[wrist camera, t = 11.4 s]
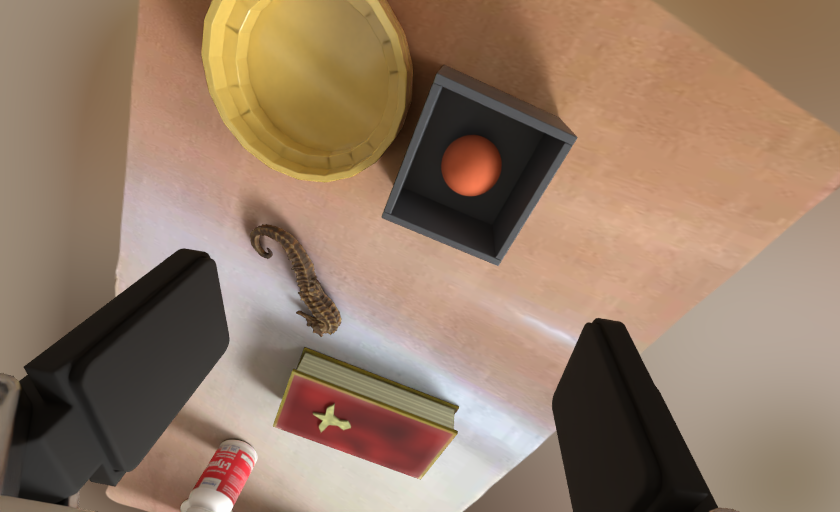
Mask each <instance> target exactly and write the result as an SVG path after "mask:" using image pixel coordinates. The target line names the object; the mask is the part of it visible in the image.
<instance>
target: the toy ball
mask: <svg viewBox="0 0 840 512" xmlns="http://www.w3.org/2000/svg"><path fill="white" fill-rule="evenodd" d="M501 167H502V162H501V156H500V154H499V151H498V149H497V148H496V146H495V145H494V144H493V143H492V142H491V141H489V140H488V139H486V138H485V137H482V136H478V135H466V136H463V137H460V138H458V139H456V140H455V141H453V142H452V143H451V144H450V145H449V146H448V148H447V149H446V151H445V153H444V155H443V158H442V163H441V171H442V175H443V178H444V180H445V182H446V184H447V185H448V186H449V187H450V188H451V189H452V190H453V191H455V192H456V193H458V194H460V195H464V196H477V195H481V194H483V193H485V192H487V191H488V190H490V189H491V188H492V187H493V186H494V185H495V183H496V182H497V180H498V178H499V176H500V173H501Z"/></svg>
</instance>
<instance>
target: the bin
mask: <svg viewBox="0 0 840 512" xmlns="http://www.w3.org/2000/svg"><path fill="white" fill-rule="evenodd" d="M466 135H478V136H482V137H485V138H486V139H488V140H489V141H491V142H492V143H493V144H494V145H495V146H496V148H497V149H498V151H499V154H500V156H501V162H502V167H501V173H500V176H499V178H498V180H497V182H496V183H495V185H494V186H493V187H492V188H491V189H490V190H488V191H487V192H485V193H483V194H481V195H477V196H464V195H460V194H458V193H456V192H455V191H453V190H452V189H451V188H450V187H449V186H448V185H447V184H446V182H445V180H444V178H443V175H442V171H441V163H442V158H443V155H444V153H445V151H446V149H447V148H448V146H449V145H450V144H451V143H452V142H453V141H455V140H456V139H458V138H460V137H463V136H466ZM576 139H577V136H576V135H575V134H574V133H573V132H572V131H571V130H570V129H569V128H568V127H567V126H566V124H565V123H564V122H563V121H562V120H561V119H560V118H559V117H557V116H555V115H552V114H550V113H548V112H546V111H544V110H542V109H539V108H537V107H535V106H533V105H531V104H529V103H526V102H524V101H522V100H520V99H518V98H516V97H513V96H511V95H509V94H507V93H505V92H503V91H500V90H498V89H496V88H494V87H492V86H489V85H487V84H485V83H483V82H481V81H479V80H476V79H474V78H472V77H470V76H468V75H466V74H463V73H461V72H459V71H457V70H455V69H453V68H450V67H448V66H446V65H443V66H442V67H441V69H440V70H439V71H438V72H437V74H436V76H435V79H434V82H433V84H432V87H431V89H430V92H429V94H428V97H427V100H426V102H425V105H424V107H423V110H422V113H421V115H420V118H419V120H418V123H417V126H416V128H415V131H414V133H413V136H412V139H411V141H410V144H409V146H408V149H407V152H406V154H405V157H404V159H403V162H402V165H401V167H400V170H399V172H398V175H397V178H396V180H395V183H394V186H393V188H392V191H391V193H390V196H389V199H388V201H387V204H386V206H385V209H384V212H383V214H382V218H383V219H386V220H388V221H390V222H393V223H395V224H398V225H400V226H403V227H405V228H407V229H410V230H412V231H415V232H417V233H419V234H422V235H424V236H427V237H429V238H432V239H434V240H436V241H439V242H441V243H444V244H446V245H448V246H451V247H453V248H456V249H458V250H461V251H463V252H465V253H468V254H470V255H473V256H475V257H477V258H480V259H482V260H485V261H487V262H489V263H492V264H494V265H497V266H499V264H500V263H501V260H502V259H503V258H504V256H505V254H506V253H507V251H508V250H509V248H510V246H511V245H512V243H513V242H514V240H515V238H516V237H517V235H518V233H519V232H520V230H521V229H522V227H523V225H524V224H525V222H526V220H527V219H528V217H529V216H530V214H531V212H532V211H533V209H534V208H535V206H536V204H537V203H538V201H539V199H540V198H541V196H542V195H543V193H544V191H545V190H546V188H547V186H548V185H549V183H550V182H551V180H552V178H553V177H554V175H555V173H556V172H557V170H558V169H559V167H560V165H561V164H562V162H563V161H564V159H565V157H566V156H567V154H568V152H569V151H570V149H571V148H572V145H573V144H574V143H575V141H576Z"/></svg>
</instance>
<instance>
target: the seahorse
mask: <svg viewBox="0 0 840 512" xmlns="http://www.w3.org/2000/svg"><path fill="white" fill-rule="evenodd" d="M260 235H265V236H268V237H270V238H272V239H274V240H276V241H277V242H279V243H280V244H281V245H282V247H283V248H284V249H285V251H286V252H287V253H288V257H289V260H291V261H292V265H293V267H292V269H293V270H294V272H295V273H296V275H297V276H296V278H297V281H296V282H298V286H299V287H300V292H298V294H300V296H301V300H303V301H304V303H305V304H306V305H307V306H308V309H310V310H311V312H312V315H314V316H315V317H312V316H309V315H308V314H306V313H304V312H302V311H301V310H300V311H297V312H296V314H299V315H301V316H303V317H304V318H306V320H307V326H308V327H309V326H311V327H312V328H313V333H317V334H319V335H320V337H322V336H323V335H322V334H324V333H325V334H326V333H329V334H330V335H331V334H332V333H334V332H335V331H337V328H338V326H340V324H341V316H340V313H339V311H338V309H337V307H336V306H335V304H334V302H332V300H331V299H330V298H329V297H328V296H327V295H325V294H324V292H323V290H322V288H321V286H320V283H318V280H316V275H315V272H314V264H312V262H311V259H310V258H309V257H308V255H307V254H306V252H305V250H304V249H303V247H302V245H300V243H299V242H298V240H296V239H295V237H294V236H292V235H290V234H289V233H288V232H286V231H284V230H283V229H282V228H278V227H276V226H272V225H267V224H266V225H263V224H262V225H261V226H258V227H257V228H256V229H254V230H253V231H252V232H251V234H250V238H251V245H252V246H253V248H254V249H255V250H256V251H257V252H258V254H259V255H260V256H262V257H264V258H267V259H269V258H270V257H271V256H272V255H273V254H272V251H271V250H270V249H269V248H267V250H268V252H269V253H267V252H265V251H264V250H263V249H262V247H261V246H260V243H259V237H260Z"/></svg>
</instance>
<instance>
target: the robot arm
mask: <svg viewBox="0 0 840 512" xmlns="http://www.w3.org/2000/svg"><path fill="white" fill-rule="evenodd" d="M228 344H229V332H228V327H227V321H226V316H225V310H224V305H223V299H222V294H221V289H220V283H219V278H218V272H217V267H216V263H215V261H214V260H213V259H211V258H210V256H209V254H208V253H206V252H202V251H197V250H191V249H185V248H184V249H180V250H178V251H176V252H175V253H174V254H172V255H171V256H170V257H168V258H167V259H166V260H164V261H163V262H162V263H160V264H159V265H158V266H156V267H155V268H154V269H152V270H151V271H150V272H148V273H147V274H146V275H144V276H143V277H142V278H141V279H139V280H138V281H137V282H135V283H134V284H133V285H131V286H130V287H129V288H127V289H126V290H125V291H123V292H122V293H121V294H119V295H118V296H117V297H115V298H114V299H113V300H111V301H110V302H109V303H107V304H106V305H105V306H104V307H102V308H101V309H100V310H98V311H97V312H96V313H94V314H93V315H92V316H90V317H89V318H88V319H86V320H85V321H84V322H82V323H81V324H80V325H78V326H77V327H76V328H74V329H73V330H72V331H71V332H69V333H68V334H67V335H65V336H64V337H62V338H61V339H60V340H58V341H57V342H56V343H55V344H53V345H52V346H51V347H49V348H48V349H47V350H45V351H44V352H43V353H41V354H40V355H39V356H37V357H36V358H35V359H33V360H32V361H31V362H29V363H28V364H27V365H25V366H24V369H25V370H26V372H27V374H28V375H27V376H26V377H24V378H23V379H21V380H20V381H18V380H17V379H16V378H15V377H14V376H11V375H7V374H4V373H0V512H96V511H90V510H85V509H79V508H78V507H79V491H80V489H81V488H82V486H83V485H84V484H85V483H86V482H87V481H88V479H90V481H91V482H95V483H100V484H106V485H110V486H116V485H117V483H118V482H119V481H120V480H121V478H122V477H123V476H124V474H125V473H126V472H130V471H132V470H134V469H135V468H136V467H137V466H138V465H139V464H140V462H141V461H142V460H143V458H144V457H145V456H146V454H147V453H148V452H149V450H150V449H151V448H152V447H153V445H154V444H155V443H156V441H157V440H158V439H159V437H160V436H161V435H162V434H163V432H164V431H165V430H166V428H167V427H168V426H169V424H170V423H171V422H172V420H173V419H174V418H175V417H176V415H177V414H178V413H179V411H180V410H181V409H182V407H183V406H184V405H185V403H186V402H187V401H188V400H189V398H190V397H191V396H192V394H193V393H194V392H195V390H196V389H197V388H198V387H199V385H200V384H201V383H202V381H203V380H204V379H205V377H206V376H207V375H208V373H209V372H210V371H211V370H212V368H213V367H214V366H215V364H216V363H217V362H218V360H219V359H220V358H221V356H222V355H223V354H224V353H225V351H226V349H227V347H228ZM552 410H553V415H554V420H555V425H556V430H557V435H558V440H559V445H560V449H561V454H562V459H563V464H564V469H565V474H566V479H567V484H568V488H569V494H570V499H571V504H572V508H573V512H739V511H736V510H733V509H728V508H718V506H717V504H716V502H715V500H714V498H713V496H712V494H711V492H710V490H709V488H708V486H707V484H706V483H705V480H704V479H703V477H702V475H701V473H700V471H699V469H698V467H697V465H696V463H695V461H694V459H693V457H692V455H691V453H690V451H689V449H688V447H687V445H686V443H685V441H684V439H683V437H682V435H681V433H680V431H679V429H678V427H677V425H676V423H675V421H674V419H673V417H672V415H671V413H670V411H669V409H668V407H667V405H666V404H665V401H664V399H663V397H662V396H661V393H660V392H659V390H658V389H657V387H656V386H655V385H654V383H653V381H652V379H651V377H650V375H649V373H648V371H647V369H646V367H645V365H644V363H643V361H642V359H641V357H640V355H639V353H638V351H637V349H636V347H635V345H634V343H633V341H632V339H631V337H630V335H629V333H628V331H627V329H626V327H625V325H624V324H623V323H622V322H619V321H613V320H607V319H601V318H596V319H595V320H594V321H593V322H592V323H586V324H585V326H584V328H583V330H582V332H581V334H580V337H579V339H578V341H577V343H576V346H575V348H574V350H573V352H572V355H571V357H570V359H569V361H568V364H567V366H566V368H565V370H564V373H563V375H562V377H561V379H560V382H559V384H558V386H557V388H556V391H555V393H554V396H553V400H552Z"/></svg>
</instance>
